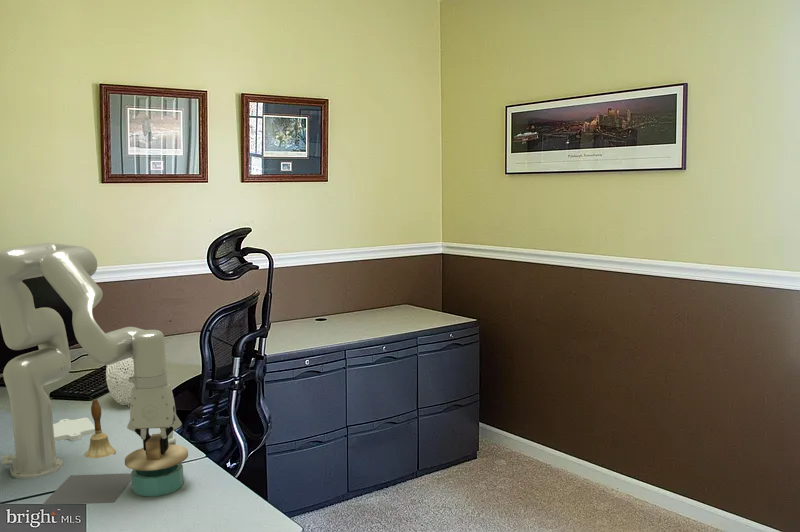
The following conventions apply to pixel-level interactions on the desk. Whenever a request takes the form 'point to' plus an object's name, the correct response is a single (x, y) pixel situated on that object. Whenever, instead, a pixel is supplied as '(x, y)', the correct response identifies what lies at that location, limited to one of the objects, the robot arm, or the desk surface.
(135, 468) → the lid
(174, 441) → the pill bottle
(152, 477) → the bowl
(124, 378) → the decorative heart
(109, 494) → the mat
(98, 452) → the hand bell
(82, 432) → the mounting plate
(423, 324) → the desk surface
